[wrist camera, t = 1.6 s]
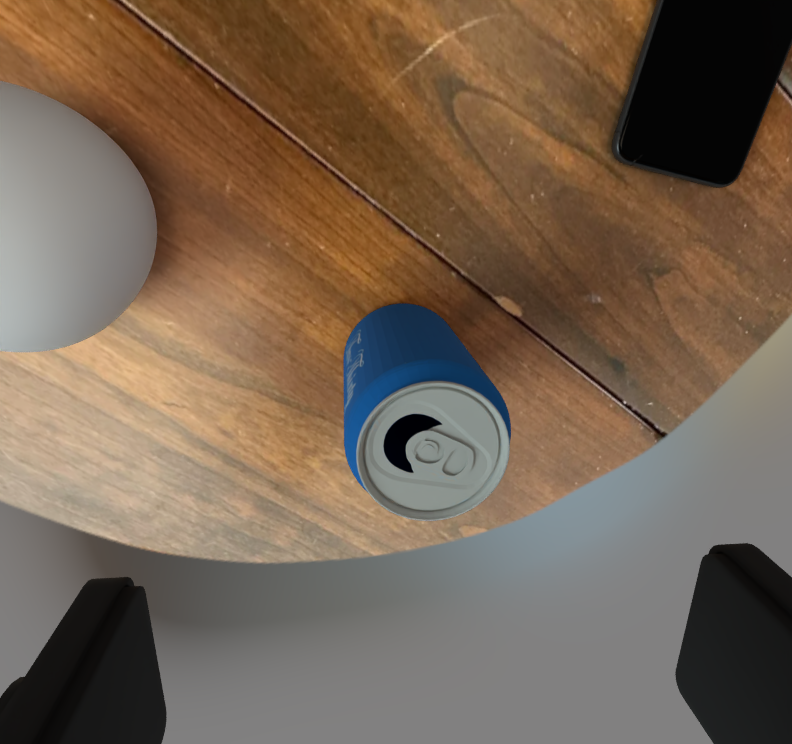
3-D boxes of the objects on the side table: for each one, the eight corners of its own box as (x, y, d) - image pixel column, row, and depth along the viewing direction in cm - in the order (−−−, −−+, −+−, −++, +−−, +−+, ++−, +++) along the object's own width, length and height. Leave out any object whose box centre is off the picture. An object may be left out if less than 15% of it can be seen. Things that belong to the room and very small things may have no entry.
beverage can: (376, 280, 29) (397, 339, 18) (476, 331, 31) (554, 416, 19) (324, 380, 31) (313, 493, 20) (422, 425, 32) (465, 553, 21)
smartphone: (726, 191, 29) (857, -144, 25) (736, 192, 29) (874, -155, 24) (602, 159, 28) (715, -199, 24) (609, 159, 27) (729, -212, 23)
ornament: (-72, 243, 27) (-378, 286, 15) (15, 53, 24) (-268, -62, 13) (125, 353, 29) (-12, 458, 18) (219, 190, 27) (131, 193, 16)
